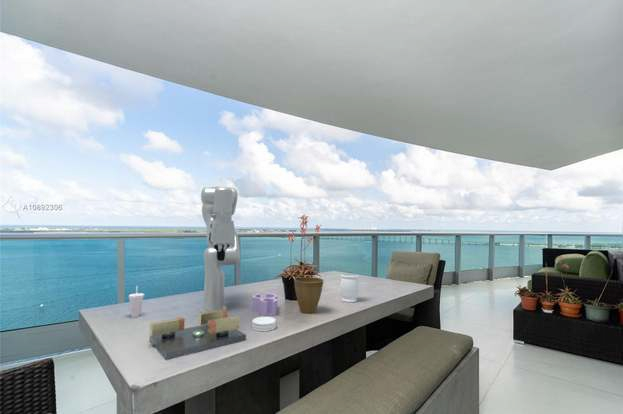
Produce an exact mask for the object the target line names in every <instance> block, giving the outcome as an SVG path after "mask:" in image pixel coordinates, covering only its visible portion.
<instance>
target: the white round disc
mask: <svg viewBox="0 0 623 414" xmlns="http://www.w3.org/2000/svg"><path fill="white" fill-rule="evenodd" d="M251 323H252V324H251V329H252V330H253V331H255V332H256V331H257V332H265V333H266V332H271V331H273V330H276V327H277V319H276V318H274V317H273V316H267V317H265V316H258V317H255V318H253V319H252V321H251Z"/></svg>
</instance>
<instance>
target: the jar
mask: <svg viewBox="0 0 623 414" xmlns="http://www.w3.org/2000/svg"><path fill="white" fill-rule="evenodd" d="M340 277H341V279H340V290H341V291H340V292H341V295H342V299H341V301H342V302H345V303H355V302H357V301H358V299H357V297H358V295H359V289H360V283H359V282H360V281H359V280H360V279H359V278H360V275H359V274H357V273H341V274H340Z"/></svg>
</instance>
